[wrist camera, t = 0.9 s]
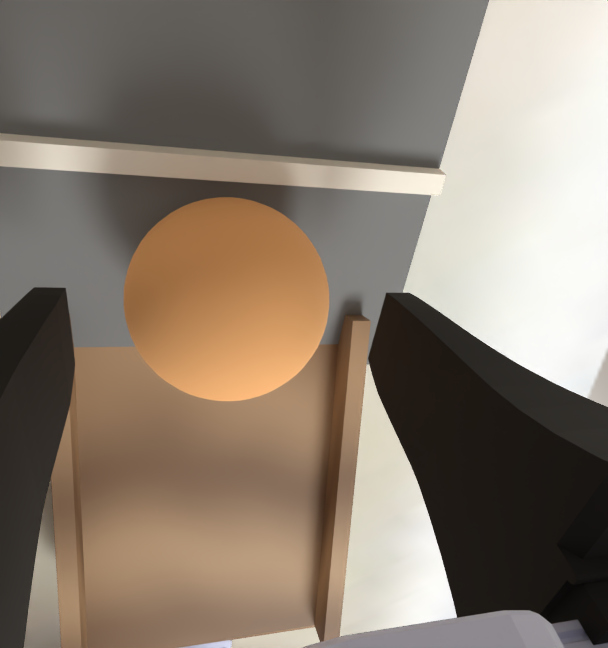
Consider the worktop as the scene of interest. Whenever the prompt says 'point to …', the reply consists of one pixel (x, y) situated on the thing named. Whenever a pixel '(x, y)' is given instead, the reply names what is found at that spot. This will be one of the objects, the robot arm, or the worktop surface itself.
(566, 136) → the worktop surface
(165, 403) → the ramp
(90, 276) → the mat
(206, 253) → the ball
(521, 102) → the worktop surface
